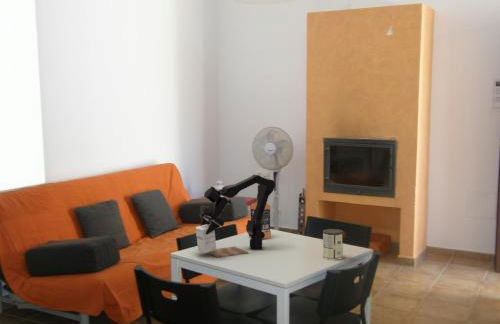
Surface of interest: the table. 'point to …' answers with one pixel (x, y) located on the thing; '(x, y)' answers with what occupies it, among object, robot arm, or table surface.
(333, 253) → the coffee can
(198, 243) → the supplement box
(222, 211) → the robot arm
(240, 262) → the table surface
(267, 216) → the whiskey bottle
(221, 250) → the walnut board
